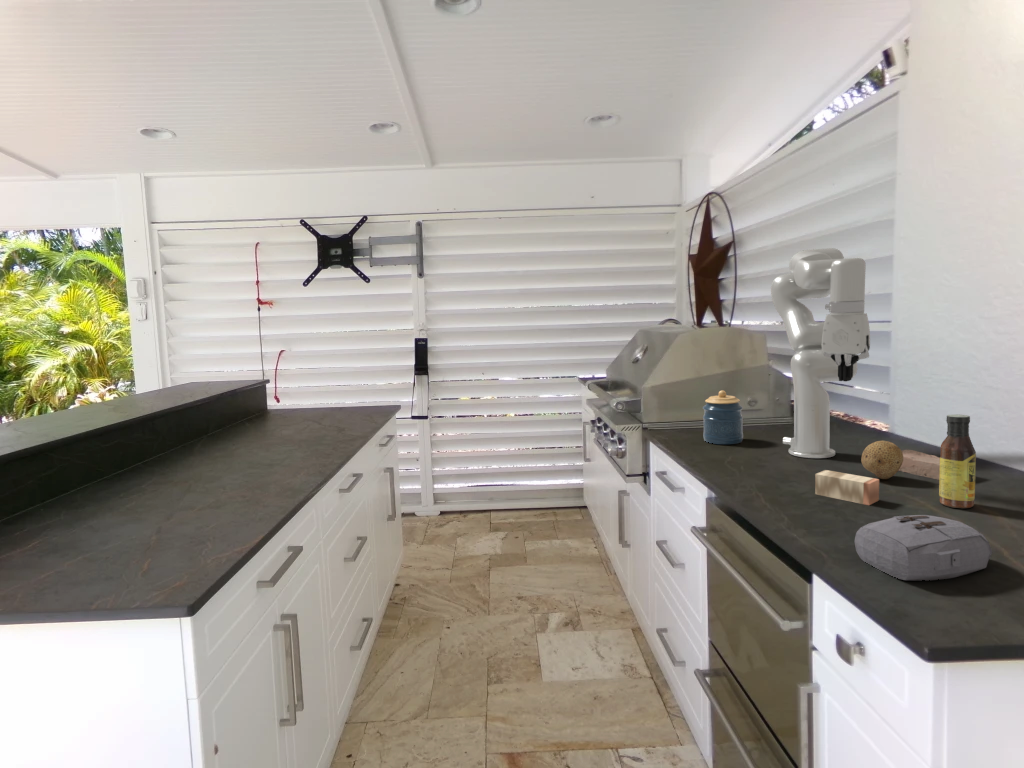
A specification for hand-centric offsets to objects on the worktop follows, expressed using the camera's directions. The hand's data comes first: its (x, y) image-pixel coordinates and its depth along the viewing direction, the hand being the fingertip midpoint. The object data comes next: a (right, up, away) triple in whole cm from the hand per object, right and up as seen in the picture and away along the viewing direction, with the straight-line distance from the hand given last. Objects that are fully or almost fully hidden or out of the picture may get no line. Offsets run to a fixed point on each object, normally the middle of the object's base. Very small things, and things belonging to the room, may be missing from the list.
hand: (845, 380), depth 149 cm
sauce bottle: (+12, -28, -21) cm, 37 cm away
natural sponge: (+9, -25, 0) cm, 27 cm away
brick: (+24, -25, +3) cm, 34 cm away
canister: (-12, -21, +52) cm, 57 cm away
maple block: (-10, -25, -8) cm, 28 cm away
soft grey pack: (-14, -32, -48) cm, 60 cm away
